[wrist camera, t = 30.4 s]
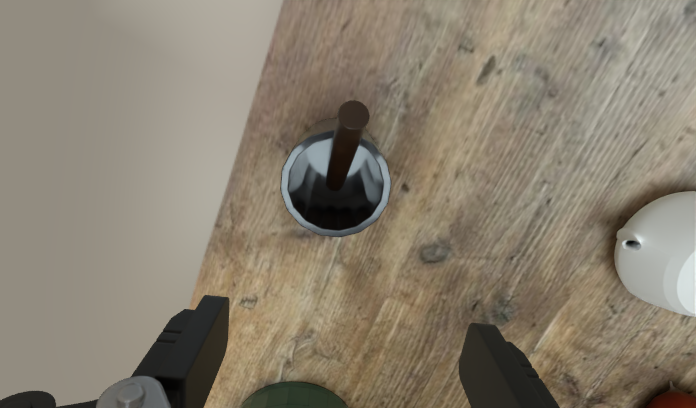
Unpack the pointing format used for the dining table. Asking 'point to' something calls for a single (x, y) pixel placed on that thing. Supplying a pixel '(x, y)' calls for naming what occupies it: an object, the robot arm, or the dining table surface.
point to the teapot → (661, 253)
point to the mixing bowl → (293, 397)
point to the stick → (346, 142)
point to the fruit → (673, 399)
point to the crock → (324, 204)
